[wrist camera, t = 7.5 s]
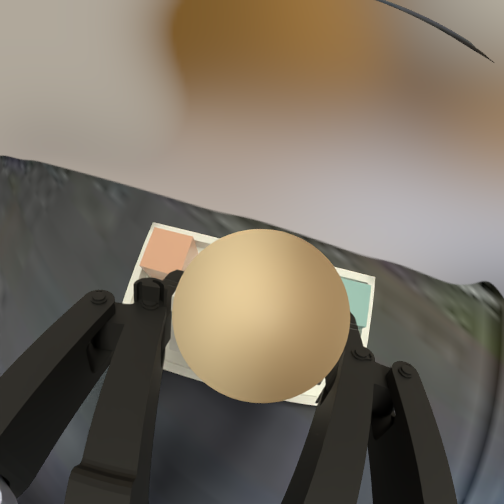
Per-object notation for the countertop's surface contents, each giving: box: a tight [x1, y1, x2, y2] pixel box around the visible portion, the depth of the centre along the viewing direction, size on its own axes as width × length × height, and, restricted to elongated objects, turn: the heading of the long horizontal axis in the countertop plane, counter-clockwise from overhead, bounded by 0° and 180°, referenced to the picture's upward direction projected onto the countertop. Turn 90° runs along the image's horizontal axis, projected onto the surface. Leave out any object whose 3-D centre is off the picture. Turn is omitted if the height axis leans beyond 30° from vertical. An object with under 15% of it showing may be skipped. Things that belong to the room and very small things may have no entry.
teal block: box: [341, 278, 371, 329], centre depth 22 cm, size 4×4×4 cm
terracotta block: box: [139, 227, 198, 280], centre depth 23 cm, size 4×4×4 cm
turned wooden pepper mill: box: [172, 229, 350, 403], centre depth 13 cm, size 5×5×11 cm
